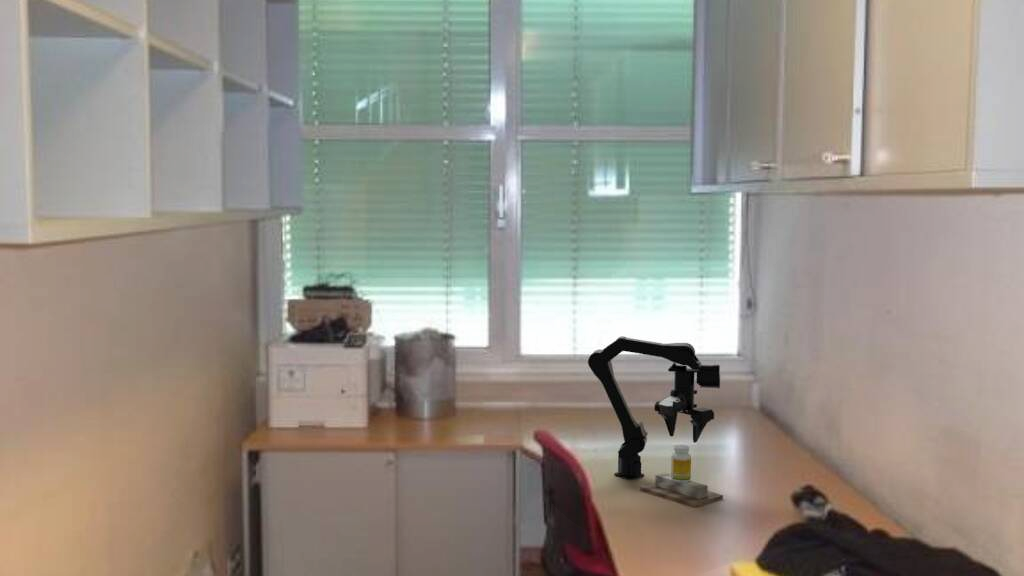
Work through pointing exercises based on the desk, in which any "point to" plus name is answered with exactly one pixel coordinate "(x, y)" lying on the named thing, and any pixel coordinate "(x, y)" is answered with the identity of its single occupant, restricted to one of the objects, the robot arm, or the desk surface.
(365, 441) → the desk surface
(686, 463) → the supplement bottle
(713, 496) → the ridge board
